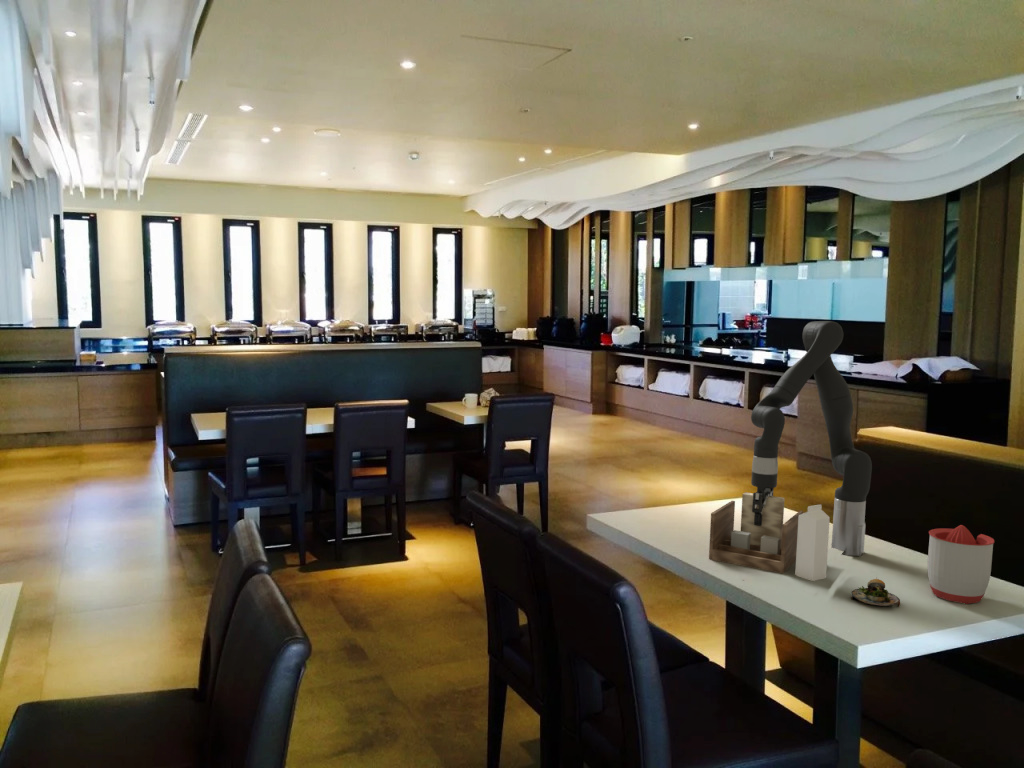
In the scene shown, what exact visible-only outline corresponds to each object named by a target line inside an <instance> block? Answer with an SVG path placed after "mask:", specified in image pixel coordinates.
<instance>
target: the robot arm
mask: <svg viewBox="0 0 1024 768" xmlns="http://www.w3.org/2000/svg"><path fill="white" fill-rule="evenodd" d="M843 339H844V331H843V328H842V326H841V325H840V324H839V323H838V322H835V321H832V320H819V321H816V320H814V321H810V322H808V323H807V324H806V325H805V326H804V327H803V331H802V342H803V346H804V349H805V352H806V353H805V354H804V355H803V356H802V357H801V358H800V359H799V360H797V362H795V363H794V364H793V365H792V366H790V367H789V368H788V369H787V370H786V371H785V372H784V373H783V374H782V375H781V377H780V378H779V379H778V381H777V382H776V383H775V385H774V387H773V389H772V390H771V391H770V392H769V393H768V394H767V395H765V396H764V397H763V398H762V399H761V400H760V401H759V402H757V404H756V405H755V406H754V408H753V409H752V411H751V415H750V419H751V423H752V424H753V425H754V427H757V428H759V429H763V432H762V435H761V436H757V437H756V438H755V439H754V442H753V443H754V444H753V458H752V465H751V486H753V487H756V488H757V489H756V491H755V492H753V505H752V512H754V513H755V515H754V525H756V526H761V525H762V514H763V510H764V508H765V507H766V504H767V500H768V498H769V496H774V490H775V489H774V488H777V486H778V472H779V471H778V470H779V461H778V459H779V458H778V456H779V455H778V454H779V443H780V440H781V437H782V435H783V431H784V428H785V423H786V421H785V419H786V418H785V415H784V413H783V410H781V409H782V408H785V407H789V406H791V404H793V402H794V401H795V399H796V398H797V397H798V395H799V394H800V393H801V391H802V389H803V388H804V386H805V385H806V384H807V382H808V381H809V380H810V379H811V378H812V376H813V377H814V381H815V384H816V388H817V392H818V398H819V401H820V406H821V410H822V414H823V418H824V423H825V427H826V431H827V435H828V441H829V448H830V449H829V450H830V451H829V452H830V457H831V459H830V460H831V463H832V467H833V469H834V470H835V472H837V473H838V474H839V475H840V476H843V479H842V485H840V486H839V487H837V488H836V489H835V491H834V500H833V502H834V504H833V516H832V517H833V519H832V532H831V533H832V535H831V549H835V550H839V551H841V552H842V551H843V552H842V553H841V556H842V555H843V556H849V557H851V556H852V557H855V556H856V557H861V556H862V555H863V553H864V552H865V551H864V550H865V540H866V539H865V537H866V536H865V535H866V521H865V519H866V517H865V516H866V504H867V496H868V494H869V491H870V489H871V482H872V480H871V479H872V471H873V470H872V469H873V465H872V464H873V463H872V460H871V457H870V456H869V454H868V453H866V452H864V451H862V450H859V449H856V448H855V445H854V443H853V438H852V434H851V433H852V432H851V423H852V420H853V414H854V403H853V399H852V396H851V394H852V393H851V391H850V387H849V386H848V383H847V381H846V380H845V378H844V377H843V375H842V374H841V373H840V372H839V370H838V369H837V367H836V366H835V363H834V361H833V359H832V355H833V353H834V352H835V351H836V350H837V349H838V347H839V346H840V345H841V344H842V342H843ZM757 500H758V501H757ZM757 507H759V509H757Z"/></svg>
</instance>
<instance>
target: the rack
mask: <svg viewBox="0 0 1024 768" xmlns="http://www.w3.org/2000/svg"><path fill="white" fill-rule="evenodd" d="M735 507H736V500H731V501H729V502H727V503H725V504H724V505H722V506H720V507H718V508H717V509H716V510H714V511H712V512H711V513H710V528H709V548H708V551H709V552H708V560H713V561H718V562H723V563H729V564H733V565H739V566H744V567H748V568H753V569H759V570H763V571H769V572H775V573H778V574H779V573H780V574H785V573H786V572H787V570H789V568H790V567H791V566H792V565H793V564H794V563H796V552H797V535H798V519H799V515H801V514H803V513H804V511H802V510H799V511H798V512H797V513H795V514H794V515H793V516H791V517H790V518H789V519H788V520H786V521H785V522H783V528H782V545H781V549H780V555H777V554H771V553H766V552H760V548H761V546H758V545H753V544H750V550H749V549H744V548H738V547H733V546H731V532H733V531H734V530H735V529H734V528H735V512H736V511H735V509H736V508H735Z"/></svg>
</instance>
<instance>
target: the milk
mask: <svg viewBox="0 0 1024 768" xmlns="http://www.w3.org/2000/svg"><path fill="white" fill-rule="evenodd" d="M822 507H823V506H822V504H816V505H808V507H807V511H806V512H803V514H801V515H799V519H798V535H797V552H796V561H795V571H794V572H795V573H794V575H795V576H797V577H800V578H802V579H805V580H808V581H812V582H815V581H819V580H822V579H826V578H827V568H828V567H827V566H828V554H829V550H828V548H829V537H830V536H829V534H830V520H831V519H830V518H831V517H830V516H829V515H828V514H827V513H826V512H825V511H824V510H823V509H822Z"/></svg>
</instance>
